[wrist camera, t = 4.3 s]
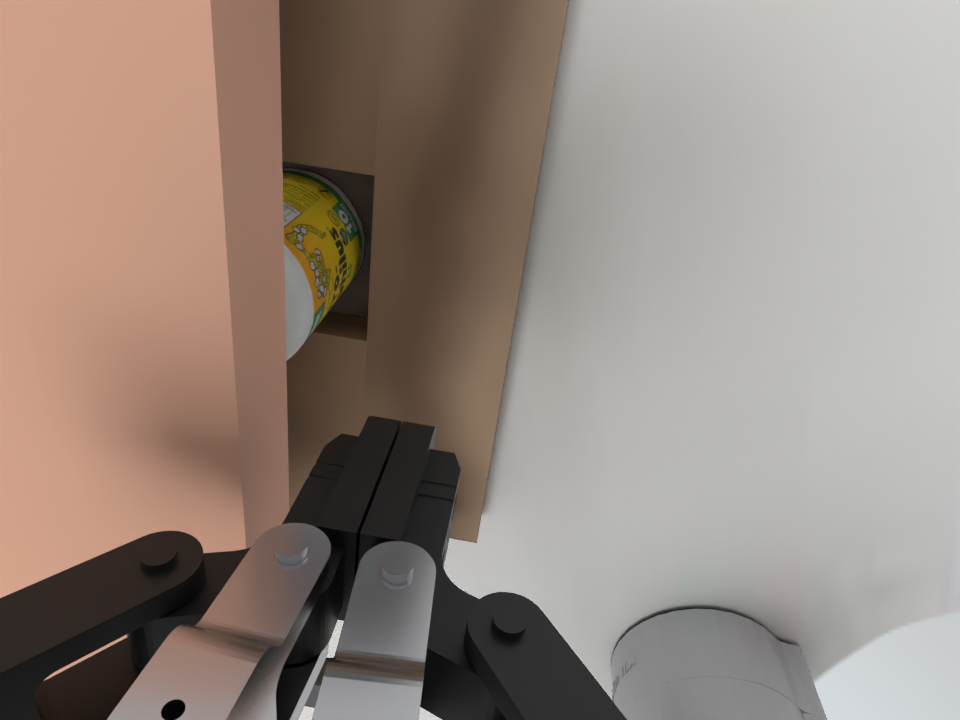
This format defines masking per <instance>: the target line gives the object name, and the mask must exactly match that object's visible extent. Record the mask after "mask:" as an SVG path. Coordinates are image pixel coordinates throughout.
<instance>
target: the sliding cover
mask: <svg viewBox="0 0 960 720" xmlns="http://www.w3.org/2000/svg"><path fill="white" fill-rule="evenodd" d="M288 512H289V466H288V417H287V367H286V318H285V269H284V219H283V170H282V120H281V71H280V21H279V0H0V598H2V597H4V596H6V595H9V594H11V593H13V592H16V591H18V590H20V589H23V588H25V587H27V586H30V585H32V584H34V583H36V582H39V581H41V580H43V579H46V578H48V577H50V576H53V575H55V574H57V573H60V572H62V571H64V570H67V569H69V568H71V567H73V566H76V565H78V564H80V563H83V562H85V561H87V560H90V559H92V558H94V557H97V556H99V555H101V554H104V553H106V552H108V551H110V550H113V549H115V548H117V547H120V546H122V545H124V544H127V543H129V542H131V541H134V540H136V539H138V538H141V537H143V536H146V535H148V534H151V533H155V532H160V531H180V532H185V533H187V534H190V535H192V536H194V537H195V538H196V539H197V540H198V541H199V542H200V543H201V545H202V548H203V553H212V552H225V551H236V550H242V549H247V548H250V547H252V545H253V544H254V542H255V541H256V540H257V539H258V537H259V536H261V535H262V534H263V533H264V532H266V531H267V530H269V529H271V528H273V527H275V526H279V525H282V523H283V521H284V520H285V518H286V516H287V514H288ZM125 638H127V635H125V636H123V637H121V638H119V639H117V640H115V641H113V642H111V643H109V644H107V645H106V646H104V647H102V648H100V649H98V650H96V651H94V652H92V653H90V654H88V655H86V656H84V657H82V658H81V659H79V660H77V661H75V662H73V663H71V664H69V665H67V666H65V667H63V668H61V669H59V670H58V671H56V672H54V673H53V674H51V675H50V676H48V677H47V678H46V679H49V678H51V677H52V676H54V675H56V674H58V673H60V672H62V671H64V670H66V669H68V668H70V667H72V666H73V665H75V664H77V663H79V662H81V661H83V660H85V659H87V658H89V657H91V656H93V655H94V654H96V653H98V652H100V651H102V650H104V649H106V648H108V647H110V646H112V645H114V644H115V643H117V642H119V641H121V640H123V639H125ZM46 679H45V680H46Z"/></svg>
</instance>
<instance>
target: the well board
mask: <svg viewBox="0 0 960 720" xmlns="http://www.w3.org/2000/svg"><path fill="white" fill-rule="evenodd" d="M568 2H569V0H279V21H280V71H281V120H282V161H284V162H290V163H297V164H303V165H309V166H316V167H322V168H328V169H335V170H341V171H347V172H354V173H360V174H367V175H373V176H375V178H374V199H373V220H372V240H371V261H370V282H369V303H368V318H362V317H356V316H350V315H344V314H338V313H332V312H327V314H326V315H325V316H324V318H323V319H322V320H321V322H320V323H319V324H318V326H317V327H316V328H315V329H314V331H313V332H312V333H311V335H310V336H309V337H308V339H307V340H306V341H305V342H304V344H303V345H302V346H301V348H300V349H299V350H298V351H297V352H296V353H295V354H294V355H293V356H292V357H291V358H290V359H288V360H287V361H286V367H287V417H288V466H289V510H290V509H291V507H292V505H293V503H294V501H295V499H296V498H297V496H298V494H299V492H300V490H301V488H302V487H303V485H304V483H305V481H306V479H307V478H308V477H309V474H310V472H311V470H312V468H313V466H314V465H316V461H317V459H318V457H319V455H320V454H321V452H322V450H323V448H324V446H325V445H326V444H328V443H329V442H331V441H332V440H333V439H335V438H336V437H337V436H339V435H340V434H348V435H353V436H359V435H360V433H361V431H362V429H363V426H364V424H365V422H366V420H367V418H368V417H369V416H370V415H371V416H376V417H382V418H388V419H394V420H399V421H402V424H403V422H404V421H406V422H412V423H417V424H423V425H429V426H435V427H436V437H435V445H434V450H440V451H446V452H451V453H455V455H456V458H457V461H458V463H459V466H460V469H461V471H460V478H459V485H458V492H457V498H456V505H455V512H454V519H453V524H452V529H451V533H450V538H452V539H458V540H463V541H469V542H474V543H477V538H478V532H479V526H480V520H481V514H482V509H483V503H484V497H485V491H486V485H487V479H488V473H489V467H490V461H491V456H492V450H493V444H494V438H495V432H496V426H497V420H498V414H499V408H500V403H501V397H502V391H503V385H504V379H505V373H506V367H507V361H508V355H509V350H510V344H511V338H512V332H513V326H514V320H515V314H516V308H517V302H518V297H519V291H520V285H521V279H522V273H523V267H524V261H525V255H526V249H527V243H528V238H529V232H530V226H531V220H532V214H533V208H534V202H535V196H536V190H537V185H538V179H539V173H540V167H541V161H542V155H543V149H544V143H545V137H546V132H547V126H548V120H549V114H550V108H551V102H552V96H553V90H554V84H555V79H556V73H557V67H558V61H559V55H560V49H561V43H562V37H563V31H564V26H565V20H566V14H567V8H568Z"/></svg>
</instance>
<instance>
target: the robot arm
mask: <svg viewBox="0 0 960 720" xmlns="http://www.w3.org/2000/svg"><path fill="white" fill-rule="evenodd" d="M435 437H436V427H435V426H429V425H423V424H417V423H412V422H406V421H404V422H403V424H402V421H399V420H394V419H388V418H382V417H376V416H371V415H370V416H369V417H368V418H367V420H366V422H365V424H364V426H363V429H362V431H361V433H360V435H359V436H353V435H348V434H340V435H339V436H337V437H336V438H335V439H333V440H332V441H331V442H329V443H328V444H326V445H325V446H324V448H323V450H322V452H321V454H320V455H319V457H318V459H317V461H316V465H314V466H313V468H312V470H311V472H310V474H309V477H308V478H307V479H306V481H305V483H304V485H303V487H302V488H301V490H300V492H299V494H298V496H297V498H296V499H295V501H294V503H293V505H292V507H291V509H290V510H289V512H288V514H287V516H286V518H285V520H284V521H283V523H282V525H279V526H275V527H273V528H271V529H269V530H267V531H266V532H264V533H263V534H262V535H261V536H259V537H258V539H257V540H256V541H255V542H254V544H253V545H252V547H250V548H247V549H242V550H236V551H225V552H212V553H203V548H202V545H201V543H200V542H199V541H198V540H197V539H196V538H195V537H194V536H192V535H190V534H187V533H185V532H180V531H160V532H155V533H151V534H148V535H146V536H143V537H141V538H138V539H136V540H134V541H131V542H129V543H127V544H124V545H122V546H120V547H117V548H115V549H113V550H110V551H108V552H106V553H104V554H101V555H99V556H97V557H94V558H92V559H90V560H87V561H85V562H83V563H80V564H78V565H76V566H73V567H71V568H69V569H67V570H64V571H62V572H60V573H57V574H55V575H53V576H50V577H48V578H46V579H43V580H41V581H39V582H36V583H34V584H32V585H30V586H27V587H25V588H23V589H20V590H18V591H16V592H13V593H11V594H9V595H6V596H4V597H2V598H0V720H298V719H299V717H300V714H301V712H302V710H303V708H304V706H305V703H306V701H307V699H308V697H309V695H310V692H311V690H312V688H313V686H314V684H315V681H316V679H317V677H318V675H319V673H320V670H321V668H322V666H323V664H324V662H325V659H326V657H327V654H328V643H329V641H330V638H331V636H332V633H333V630H334V628H335V625H336V622H337V620H343V621H344V623H343V627H342V631H341V635H340V639H339V642H338V646H337V650H336V653H335V656H334V658H330V659H329V661H328V664H327V666H326V669H325V673H324V676H323V680H322V684H321V687H320V691H319V695H318V698H317V702H316V706H315V709H314V713H313V717H312V720H419V712H420V707H422V708H423V709H425V710H427V711H429V712H430V713H432V714H434V715H436V716H437V717H439V718H441V719H443V720H827V718H826V715H825V713H824V710H823V707H822V705H821V702H820V699H819V697H818V694H817V691H816V689H815V686H814V683H813V681H812V678H811V675H810V673H809V670H808V667H807V665H806V662H805V659H804V657H803V654H802V651H801V649H800V647H799V646H797V645H793V644H787V643H784V642H781V641H779V640H778V639H777V638H775V637H774V636H773V635H772V634H771V633H770V632H769V631H768V630H767V629H766V628H764V627H763V626H761V625H759V624H757V623H756V622H754V621H752V620H751V619H748V618H745V617H743V616H740V615H737V614H734V613H730V612H725V611H719V610H714V609H687V610H678V611H672V612H669V613H665V614H661V615H657V616H655V617H653V618H650V619H648V620H646V621H644V622H641V623H640V624H638V625H637V626H636V627H634V628H633V629H631V630H630V631H628V632H627V633H626V635H625V636H624V637H623V638H622V639H621V640H620V641H619V643H618V644H617V646H616V648H615V650H614V652H613V656H612V662H611V671H612V685H613V689H612V697H613V701H612V700H611V698H610V697H609V696H608V695H607V693H606V692H605V691H604V690H603V688H602V687H601V686H600V684H599V683H598V682H597V681H596V679H595V678H594V677H593V676H592V674H591V673H590V672H589V670H588V669H587V668H586V667H585V665H584V664H583V663H582V662H581V660H580V659H579V658H578V656H577V655H576V654H575V653H574V651H573V650H572V649H571V648H570V646H569V645H568V644H567V642H566V641H565V640H564V639H563V637H562V636H561V635H560V634H559V632H558V631H557V630H556V628H555V627H554V626H553V625H552V623H551V622H550V621H549V620H548V618H547V617H546V616H545V614H544V613H543V612H542V611H541V610H540V608H539V607H538V606H537V605H536V604H534V603H533V602H532V601H530V600H529V599H527V598H525V597H523V596H521V595H518V594H514V593H508V592H497V593H492V594H489V595H486V596H484V597H482V598H481V599H478V598H476V597H474V596H472V595H470V594H468V593H466V592H464V591H462V590H461V589H459V588H458V587H457V586H455V585H454V584H453V583H452V582H451V581H450V579H449V578H448V576H447V575H446V573H445V571H444V568H443V567H444V562H445V557H446V552H447V548H448V543H449V538H450V533H451V529H452V524H453V519H454V512H455V505H456V498H457V492H458V485H459V478H460V471H461V469H460V466H459V463H458V461H457V458H456V455H455V453H451V452H446V451H440V450H434V445H435ZM125 635H127V638H125V639H123V640H121V641H119V642H117V643H115V644H114V645H112V646H110V647H108V648H106V649H104V650H102V651H100V652H98V653H96V654H94V655H93V656H91V657H89V658H87V659H85V660H83V661H81V662H79V663H77V664H75V665H73V666H72V667H70V668H68V669H66V670H64V671H62V672H60V673H58V674H56V675H54V676H52V677H51V678H49V679H46V678H47V677H48V676H50V675H51V674H53V673H54V672H56V671H58V670H59V669H61V668H63V667H65V666H67V665H69V664H71V663H73V662H75V661H77V660H79V659H81V658H82V657H84V656H86V655H88V654H90V653H92V652H94V651H96V650H98V649H100V648H102V647H104V646H106V645H107V644H109V643H111V642H113V641H115V640H117V639H119V638H121V637H123V636H125ZM45 679H46V680H45Z"/></svg>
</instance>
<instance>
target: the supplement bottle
mask: <svg viewBox="0 0 960 720" xmlns="http://www.w3.org/2000/svg"><path fill="white" fill-rule="evenodd" d="M282 170H283V219H284V269H285V318H286V361H287V360H288V359H290V358H291V357H292V356H293V355H294V354H295V353H296V352H297V351H298V350H299V349H300V348H301V346H302V345H303V344H304V342H305V341H306V340H307V339H308V337H309V336H310V335H311V333H312V332H313V331H314V329H315V328H316V327H317V326H318V324H319V323H320V322H321V320H322V319H323V318H324V316H325V315H326V314H327V312H328V311H329V310H330V309H331V307H332V306H333V305H334V303H335V302H336V301H337V300H338V298H339V297H340V296H341V294H342V293H343V292H344V291H345V289H346V288H347V287H348V286H349V284H350V283H351V282H352V280H353V279H354V278H355V276H356V275H357V273H358V271H359V269H360V267H361V264H362V260H363V257H364V250H365V237H364V231H363V227H362V224H361V222H360V219H359V217H358V215H357V213H356V211H355V209H354V207H353V206H352V204H351V202H350V201H349V199H348V198H347V197H346V195H345V194H344V193H343V192H342V191H341V190H340V189H339V188H338V187H337V186H336V185H335V184H333V183H332V182H331V181H329V180H328V179H326V178H324V177H322V176H320V175H318V174H315V173H312V172H309V171H305V170H301V169H292V168H291V169H282Z"/></svg>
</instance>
